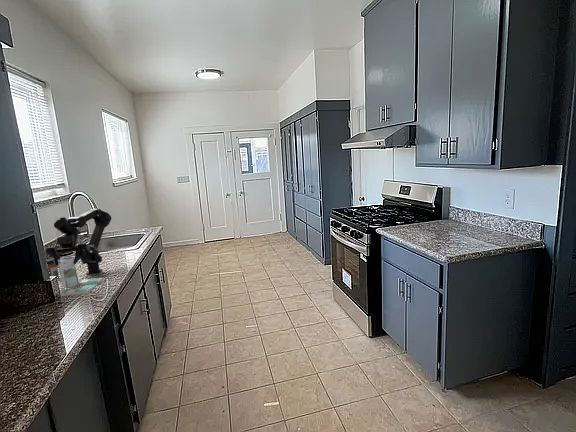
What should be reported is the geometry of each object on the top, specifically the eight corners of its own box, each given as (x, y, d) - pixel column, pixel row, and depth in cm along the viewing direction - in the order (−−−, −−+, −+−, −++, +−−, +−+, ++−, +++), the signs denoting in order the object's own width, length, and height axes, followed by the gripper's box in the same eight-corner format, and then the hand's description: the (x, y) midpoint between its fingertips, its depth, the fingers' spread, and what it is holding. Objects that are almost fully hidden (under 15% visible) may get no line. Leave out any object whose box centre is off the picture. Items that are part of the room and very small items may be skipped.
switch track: (69, 283, 178) (68, 280, 177) (102, 280, 179) (102, 277, 179) (50, 297, 161) (50, 293, 161) (87, 293, 163) (87, 290, 162)
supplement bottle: (43, 280, 185) (39, 261, 183) (54, 276, 190) (50, 257, 188) (51, 281, 183) (46, 262, 181) (61, 277, 188) (57, 258, 186)
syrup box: (75, 282, 174) (69, 256, 171) (79, 285, 170) (73, 257, 167) (62, 286, 170) (56, 259, 167) (66, 289, 166) (60, 261, 163)
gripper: (43, 231, 166) (36, 260, 158) (83, 228, 170) (79, 255, 161) (54, 243, 176) (47, 270, 167) (92, 239, 179) (88, 265, 170)
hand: (65, 265), depth 166 cm, fingers closed on syrup box, 8 cm apart
